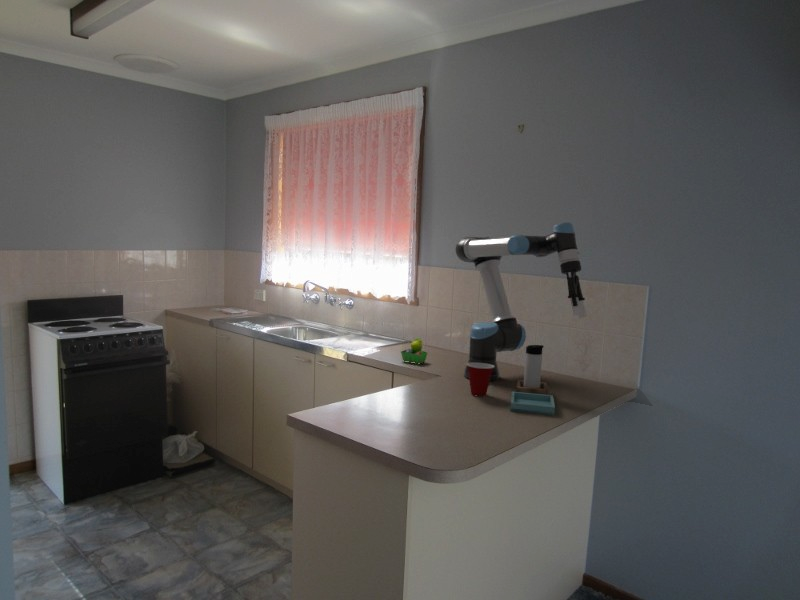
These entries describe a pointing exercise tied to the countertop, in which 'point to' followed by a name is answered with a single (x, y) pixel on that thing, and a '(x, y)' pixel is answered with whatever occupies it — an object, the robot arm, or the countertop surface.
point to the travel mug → (533, 366)
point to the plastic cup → (479, 377)
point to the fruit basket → (415, 352)
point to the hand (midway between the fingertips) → (580, 316)
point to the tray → (532, 403)
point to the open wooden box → (522, 389)
